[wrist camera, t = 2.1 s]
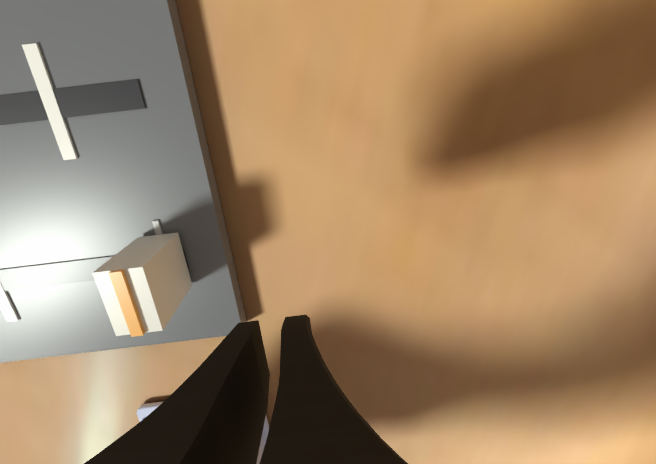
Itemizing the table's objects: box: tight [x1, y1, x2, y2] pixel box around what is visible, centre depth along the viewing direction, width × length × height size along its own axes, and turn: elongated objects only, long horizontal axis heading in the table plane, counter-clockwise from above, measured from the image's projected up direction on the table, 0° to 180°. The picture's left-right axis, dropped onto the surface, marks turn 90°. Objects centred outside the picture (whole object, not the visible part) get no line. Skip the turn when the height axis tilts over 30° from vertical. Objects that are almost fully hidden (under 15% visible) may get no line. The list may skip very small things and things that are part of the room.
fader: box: [92, 232, 192, 337], centre depth 16 cm, size 3×2×4 cm, turn 6°
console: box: [0, 0, 247, 363], centre depth 18 cm, size 18×18×1 cm
